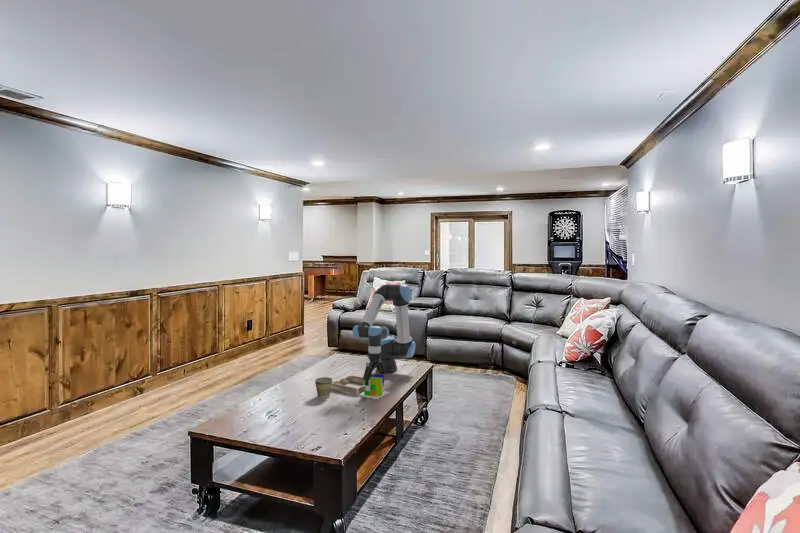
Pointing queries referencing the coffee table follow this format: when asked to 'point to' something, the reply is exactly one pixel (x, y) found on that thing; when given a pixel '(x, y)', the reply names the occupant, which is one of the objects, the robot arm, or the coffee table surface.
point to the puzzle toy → (375, 385)
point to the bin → (341, 387)
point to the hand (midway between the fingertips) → (374, 387)
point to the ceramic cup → (323, 387)
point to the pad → (374, 396)
